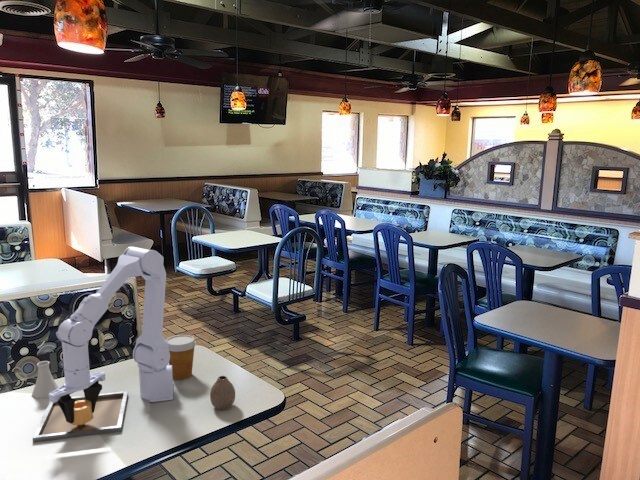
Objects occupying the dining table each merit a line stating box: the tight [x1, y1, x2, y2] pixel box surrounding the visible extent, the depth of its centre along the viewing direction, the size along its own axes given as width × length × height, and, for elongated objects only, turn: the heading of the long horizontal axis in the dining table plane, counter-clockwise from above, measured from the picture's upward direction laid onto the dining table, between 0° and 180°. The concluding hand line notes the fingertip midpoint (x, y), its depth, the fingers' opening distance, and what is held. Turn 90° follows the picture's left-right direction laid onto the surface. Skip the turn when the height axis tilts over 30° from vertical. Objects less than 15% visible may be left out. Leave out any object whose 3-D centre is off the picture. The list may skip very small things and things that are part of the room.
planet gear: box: [70, 400, 92, 425], centre depth 131 cm, size 5×5×4 cm
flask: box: [31, 360, 60, 399], centre depth 149 cm, size 7×7×10 cm
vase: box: [209, 375, 236, 411], centre depth 144 cm, size 7×7×9 cm
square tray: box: [32, 390, 129, 444], centre depth 137 cm, size 20×20×1 cm
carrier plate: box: [33, 397, 126, 444], centre depth 137 cm, size 20×20×1 cm
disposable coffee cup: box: [166, 334, 197, 381], centre depth 162 cm, size 10×10×12 cm
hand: (80, 416), depth 131 cm, fingers closed on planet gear, 5 cm apart
